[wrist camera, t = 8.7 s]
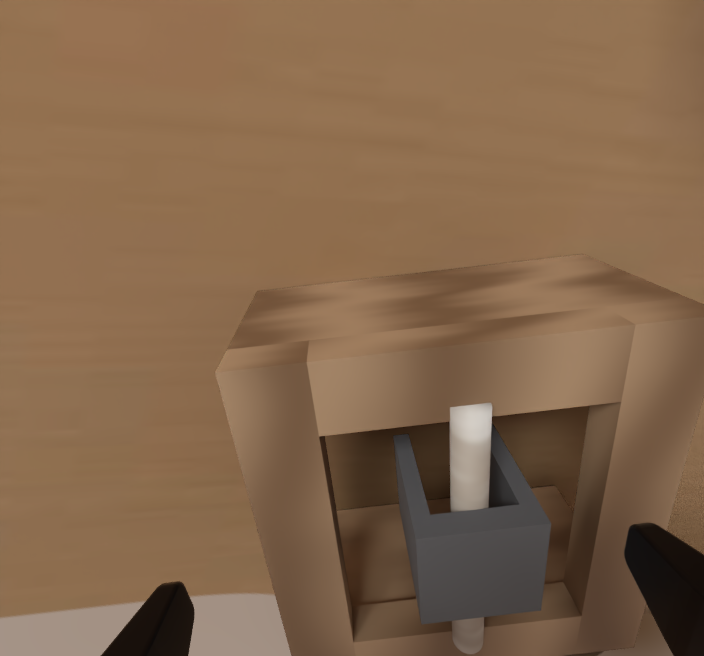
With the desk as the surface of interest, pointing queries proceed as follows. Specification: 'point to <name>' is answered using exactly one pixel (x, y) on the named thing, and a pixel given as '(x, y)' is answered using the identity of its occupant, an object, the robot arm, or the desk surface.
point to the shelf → (462, 439)
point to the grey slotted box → (474, 543)
